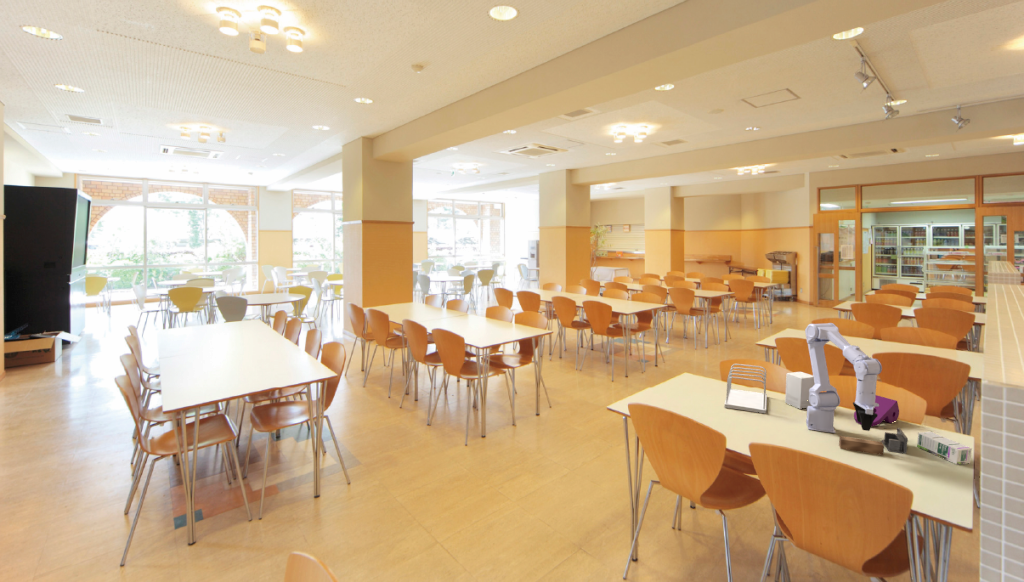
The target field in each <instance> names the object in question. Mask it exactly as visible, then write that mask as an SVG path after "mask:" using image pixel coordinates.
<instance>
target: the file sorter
mask: <svg viewBox="0 0 1024 582" xmlns="http://www.w3.org/2000/svg"><path fill="white" fill-rule="evenodd" d="M734 366H737V367H734ZM738 366H744V367H738ZM745 367H746V368H745ZM747 367H751V368H747ZM757 368H761V369H757ZM735 369H737V370H735ZM762 369H763V370H762ZM755 371H756V372H755ZM757 371H758V372H757ZM737 372H738V373H737ZM743 373H748V374H743ZM753 374H754V375H753ZM739 376H741V377H739ZM742 376H744V377H742ZM746 377H754V378H759V379H754V378H746ZM760 378H761V379H762V380H761V379H760ZM732 379H739V380H746V381H752V382H760V383H762V384H763V392H756V391H750V390H742V389H735V388H732V381H733V380H732ZM726 380H727V381H726V397H725V401H724V403H723V404H724V406H723V407H724V408H727V409H728V408H729V409H735V410H740V411H747V412H751V413H752V412H753V413H758V412H759V414H760V413H761V414H765V413H766V414H767V400H768V399H767V398H768V397H767V396H768V395H767V393H766V392H767V391H766V389H767V385H766V384H767V370H766V368H765V367H763V366H760V365H754V364H753V365H751V364H742V363H733V364H732V365H731V367H730V369H729V372H728V376H727V379H726Z"/></svg>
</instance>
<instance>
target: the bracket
mask: <svg viewBox="0 0 1024 582" xmlns="http://www.w3.org/2000/svg"><path fill="white" fill-rule="evenodd" d="M880 442H882V443H883V445H884V447H885V449H886V450H887V452H892V453H898V454H905V455H906V454H907V451H908V442H909V441H908V437H907V435H906V434H905V433H904V432H903V430H902V429H901V428H900V427H896V433H895V432H888V431H886V432H884V438H883V439H881V440H880Z"/></svg>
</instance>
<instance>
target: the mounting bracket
mask: <svg viewBox="0 0 1024 582" xmlns="http://www.w3.org/2000/svg"><path fill="white" fill-rule="evenodd" d="M875 403H878V404H879V406H875V407H874V409H873V413H877V415H878V416H877V417H876V418H875V420H874V421H873V423H872V426H871V428H872V427H876V426H879V425H880V424H881V423H882V422H886V423H889V424H893V423H892V422H894V421H896V420H898V419H899V415H900V408H899V404H898V403H899V402H898V400H895V399H892V398H889V397H883V396H881V395H877V394H876V395H875ZM853 417H854V421H855V423H856V424H858V425H860V426H861V423H860V422H858V421H857V416H856V410H855V411H854V413H853ZM896 422H897V421H896ZM894 423H895V422H894Z"/></svg>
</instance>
